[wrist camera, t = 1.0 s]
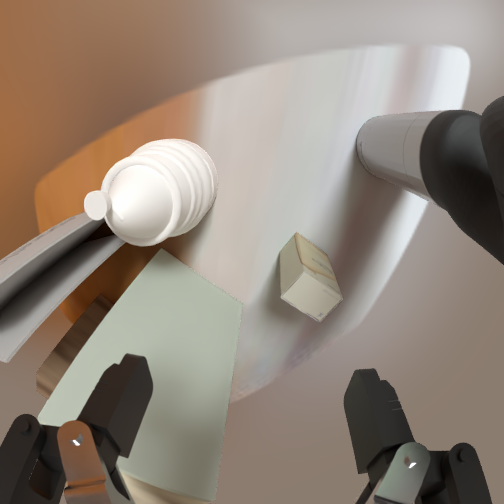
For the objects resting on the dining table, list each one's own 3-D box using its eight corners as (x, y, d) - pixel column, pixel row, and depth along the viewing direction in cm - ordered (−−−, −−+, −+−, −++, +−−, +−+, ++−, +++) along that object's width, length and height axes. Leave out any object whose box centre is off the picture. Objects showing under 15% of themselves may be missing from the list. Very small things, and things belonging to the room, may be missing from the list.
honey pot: (120, 183, 37) (41, 219, 21) (175, 120, 34) (105, 114, 17) (176, 241, 41) (124, 309, 24) (237, 185, 37) (212, 227, 21)
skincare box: (327, 254, 40) (346, 298, 29) (308, 275, 42) (320, 324, 31) (295, 230, 39) (305, 269, 28) (276, 253, 41) (279, 298, 30)
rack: (161, 247, 41) (20, 448, 9) (243, 303, 45) (210, 532, 12) (133, 295, 46) (29, 463, 13) (205, 342, 49) (159, 526, 17)
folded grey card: (130, 196, 38) (-28, 303, 11) (141, 229, 40) (8, 362, 13) (69, 217, 40) (-59, 307, 13) (79, 245, 42) (-36, 348, 15)
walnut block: (99, 293, 46) (36, 372, 26) (158, 334, 49) (116, 427, 29) (90, 317, 49) (36, 390, 29) (144, 354, 52) (105, 437, 32)
